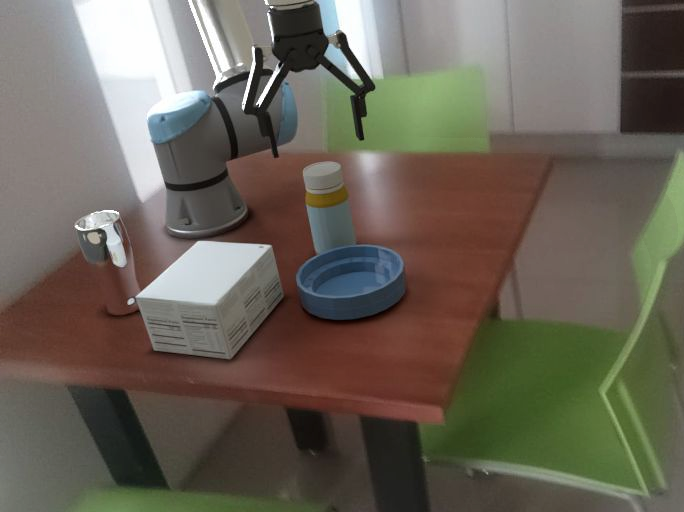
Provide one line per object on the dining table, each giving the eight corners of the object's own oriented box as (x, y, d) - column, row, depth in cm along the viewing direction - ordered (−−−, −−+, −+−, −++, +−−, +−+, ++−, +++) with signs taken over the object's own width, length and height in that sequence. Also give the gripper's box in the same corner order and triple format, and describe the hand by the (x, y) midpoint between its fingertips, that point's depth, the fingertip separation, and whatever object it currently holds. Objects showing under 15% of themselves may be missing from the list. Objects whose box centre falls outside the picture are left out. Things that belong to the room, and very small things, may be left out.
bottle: (350, 261, 130) (336, 176, 122) (310, 261, 131) (293, 177, 123) (361, 242, 135) (348, 159, 127) (323, 242, 137) (307, 160, 129)
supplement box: (212, 291, 126) (197, 239, 121) (285, 297, 122) (273, 243, 117) (151, 351, 113) (132, 295, 108) (231, 360, 109) (215, 303, 104)
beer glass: (124, 321, 121) (92, 233, 113) (95, 311, 124) (62, 226, 116) (158, 299, 126) (130, 213, 118) (129, 290, 129) (100, 207, 121)
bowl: (284, 293, 123) (279, 268, 121) (374, 259, 130) (371, 235, 127) (330, 337, 111) (324, 310, 109) (426, 297, 117) (423, 271, 115)
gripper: (206, 23, 107) (241, 170, 118) (383, -7, 111) (400, 137, 123) (202, 14, 113) (236, 154, 124) (370, -14, 118) (388, 124, 129)
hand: (318, 146), depth 123 cm, fingers open, 13 cm apart
